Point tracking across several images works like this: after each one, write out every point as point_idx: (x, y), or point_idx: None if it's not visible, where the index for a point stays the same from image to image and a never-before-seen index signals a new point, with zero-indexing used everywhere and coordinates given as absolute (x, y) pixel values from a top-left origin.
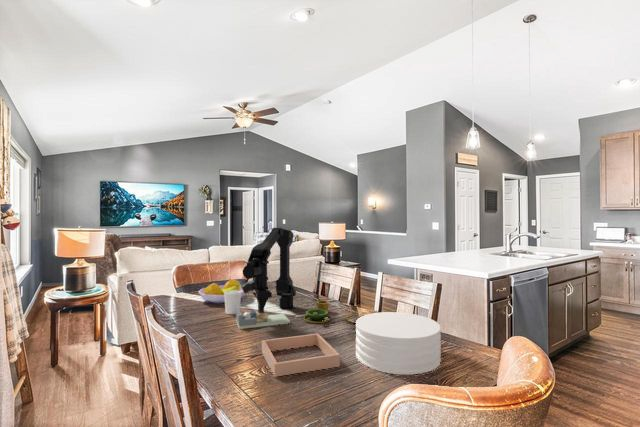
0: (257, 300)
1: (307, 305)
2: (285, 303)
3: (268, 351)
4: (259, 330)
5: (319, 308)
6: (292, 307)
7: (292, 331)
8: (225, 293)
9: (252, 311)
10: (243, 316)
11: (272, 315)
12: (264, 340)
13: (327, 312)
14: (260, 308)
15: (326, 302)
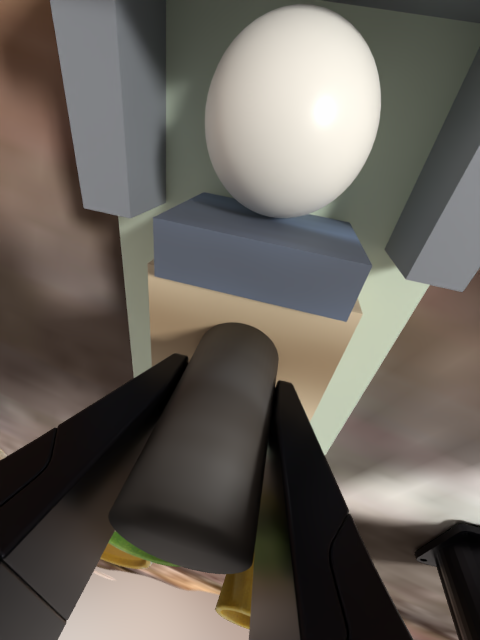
0: (289, 539)
1: (403, 588)
2: (470, 583)
3: None
4: (32, 184)
5: (241, 572)
6: (419, 555)
7: (5, 360)
8: None
9: (267, 253)
10: (269, 13)
11: (324, 422)
12: None
13: (120, 549)
14: (144, 375)
15: (249, 617)
